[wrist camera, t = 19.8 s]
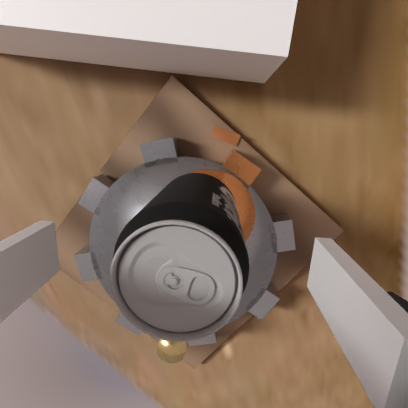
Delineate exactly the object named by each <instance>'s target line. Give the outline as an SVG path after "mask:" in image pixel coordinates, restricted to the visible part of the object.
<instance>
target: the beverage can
mask: <svg viewBox="0 0 408 408" xmlns="http://www.w3.org/2000/svg"><path fill="white" fill-rule="evenodd" d="M248 277H249V257H248V252H247V248H246V244H245V240H244V236H243V232H242V227H241V223H240V219H239V215H238V211H237V207H236V203H235V199H234V197H233V195H232V193H231V191H230V190H229V189H228V187H227V186H226V185H225V184H224V183H223V182H221V181H220V180H219V179H217V178H215V177H213V176H211V175H208V174H203V173H189V174H184V175H182V176H179V177H177V178H175V179H174V180H172V181H171V182H170V183H169V184H168V185H167V186H166V187H165V188H164V189H162V190H161V191H160V192H159V193H158V194H157V195H156V196H155V197H154V198H153V199H152V200H151V201H150V202H149V203H148V204H147V205H146V206H145V207H144V208H143V209H142V210H141V211H140V212H138V213H137V214H136V215H135V216H134V217H133V218H132V219H131V220H130V221H129V222H128V223H127V224H126V226H125V227H124V228H123V230H122V232H121V233H120V235H119V237H118V239H117V242H116V245H115V249H114V254H113V261H112V264H111V268H110V288H111V293H112V296H113V299H114V301H115V303H116V305H117V307H118V309H119V310H120V312H121V313H122V314H123V316H124V317H125V318H126V319H127V320H128V321H129V322H130V323H131V324H132V325H134V326H135V327H136V328H137V329H139V330H141V331H142V332H144V333H146V334H148V335H150V336H152V337H155V338H158V339H162V340H166V341H175V342H185V341H194V340H198V339H201V338H204V337H207V336H209V335H211V334H213V333H215V332H216V331H218V330H220V329H221V328H222V327H223V326H224V325H226V324H227V323H228V321H229V320H230V319H231V318H232V317H233V315H234V314H235V312H236V310H237V308H238V306H239V304H240V300H241V297H242V294H243V292H244V290H245V288H246V285H247V282H248Z"/></svg>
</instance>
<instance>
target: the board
mask: <svg viewBox="0 0 408 408" xmlns="http://www.w3.org/2000/svg"><path fill="white" fill-rule="evenodd" d="M240 136H241V135H239V134H237V133H236V132H234V131H233V130H232V129H231V128H230V127H229V126H228V125H227V124H226V123H224V122H223V121H222V120H221V119H220V118H219V117H218V116H217V115H216V114H215V113H213V112H212V111H211V110H210V109H209V108H208V107H207V106H206V105H205V104H203V103H202V102H201V101H200V100H199V99H198V98H197V97H196V96H195V95H193V94H192V93H191V92H190V91H189V90H188V89H187V88H186V87H185V86H183V85H182V84H181V83H180V82H179V81H178V80H177V79H176V78H175V77H174V76H171V77H170V78H169V80H168V81H167V82H166V84H165V85H164V86H163V88H162V89H161V90H160V92H159V93H158V94H157V96H156V97H155V98H154V100H153V101H152V102H151V104H150V105H149V106H148V108H147V109H146V110H145V112H144V113H143V114H142V116H141V117H140V118H139V120H138V121H137V122H136V124H135V125H134V126H133V128H132V129H131V130H130V132H129V133H128V135H127V136H126V137H125V139H124V140H123V141H122V143H121V144H120V145H119V147H118V148H117V149H116V151H115V152H114V153H113V155H112V156H111V157H110V159H109V160H108V161H107V163H106V164H105V165H104V167H103V168H102V169H101V171H100V172H99V173H98V175H101V174H103V175H105V176H106V177H108V178H109V179H111V180H112V181H114V182H115V181H117V180H118V179H119V178H120V177H121V176H123V175H124V174H125V173H127V172H129V171H130V170H132V169H134V168H135V167H138V166H140V165H142V164H144V160H143V156H142V152H141V148H140V144H142V143H147V142H152V141H157V140H162V139H167V138H172V137H177V142H178V147H179V152H180V156H196V157H202V158H206V159H209V160H213V161H215V162H218V163H220V164H223V162H224V161H225V159H226V158H227V156H228V155H229V154H230V152H231V151H232V149H233V150H235V151H236V152H238V153H239V154H240V155H242V156H243V157H245V158H246V159H248V160H249V161H250V162H252V163H253V164H255V165H256V166H258V167H259V168H260V169H261V172H260V173H259V174H258V176H257V177H256V178H255V180H254V181H253V182H252V184H251V186H252V187H253V188H254V190H255V191H256V192H257V194H258V195H259V197H260V198H261V199H262V201H263V203H264V204H265V206H266V208H267V210H268V212H269V214H270V216H271V215H278V214H284V213H287V214H288V215H289V217H290V218H291V219H292V223H293V231H294V239H295V248H296V250H290V251H283V252H277V259H276V265H275V269H274V273H273V276H272V278H271V281H270V284H272V285H273V286H275V287H276V289H277V292H279V291H280V290H281V289H282V288H283V287H284V286H285V285H286V284H287V283H288V282H289V281H290V280H292V279H293V278H294V277H295V276H296V275H297V274H298V273H299V272H300V271H301V270H302V269H303V268H305V267H306V266H307V265H308V264H309V263H310V262H311V259H312V253H313V247H314V241H315V237H320V238H331V239H332V240H333V241H334V240H335V239H336V238H337V237H338V236H339V235H340V234H341V233H343V232H344V230H343V229H342V228H341V227H340V226H339V225H338V224H336V223H335V222H334V221H333V220H332V219H331V218H330V217H329V216H328V215H326V214H325V213H324V212H323V211H322V210H321V209H320V208H319V207H318V206H316V205H315V204H314V203H313V202H312V201H311V200H310V199H309V198H308V197H306V196H305V195H304V194H303V193H302V192H301V191H300V190H299V189H298V188H297V187H295V186H294V185H293V184H292V183H291V182H290V181H289V180H288V179H287V178H285V177H284V176H283V175H282V174H281V173H280V172H279V171H278V170H277V169H275V168H274V167H273V166H272V165H271V164H270V163H269V162H268V161H267V160H265V159H264V158H263V157H262V156H261V155H260V154H259V153H258V152H257V151H256V150H254V149H253V148H252V147H251V146H250V145H249V144H248V143H247V142H246V141H244V140H243V139H242V138H241V137H240ZM98 175H97V176H98ZM82 196H83V195H82ZM82 196H81V197H82ZM80 199H81V198H80ZM80 199H79V200H78V202H77V203H76V204H75V206H74V207H73V208H72V210H71V211H70V212H69V214H68V215H67V216H66V218H65V219H64V220H63V222H62V223H61V224H60V226H59V227H58V228H57V230H56V239H57V247H58V256H59V265H60V269H61V270H62V271H63V272H65V273H66V274H67V275H69V276H70V277H71V278H73V279H74V280H75V281H77V282H78V283H79V284H81V285H82V286H84V287H85V288H86V289H88V290H89V291H90V292H92V293H93V294H94V295H96V296H97V297H98V298H100V299H101V300H102V301H104V302H105V303H106V304H108V305H109V306H111V307H112V308H113V309H115V310H116V311H117V312H119V313H120V310H119V309H118V307H117V305H116V303H115V302H114V301H113V299H112V298H111V297H110V296H109V295H108V293H107V292H106V291H105V289H104V288H103V286H102V285H101V283H100V281H99V279H98V280H92V281H85V282H82V279H81V276H80V273H79V270H78V267H77V264H76V261H75V258H74V254H76V253H77V252H78V251H79V250H81V249H82V248H83V247H84V246H89V237H90V228H91V222H92V219H93V216H94V213H92V212H91V211H89V210H88V209H86V208H85V207H83V206H81V205H80V204H78V203H79V201H80ZM252 315H253V314H251V313H250V312H248V311H247V312H246V313H245V314H243V315H242V316H241V317H239V318H237V319H236V320H234V321H232V322H230V323H228V324H226V325H224V326H223V327H222V328H221V329H220V330H218V331H217V343H211V344H203V345H195V346H189V344H188V341H187V345H186V352H185V356H184V358H183V359H182V360H183V361H185V362H186V363H187V364H189V365H190V366H191V367H193V368H194V369H195V368H196V367H197V366H198V365H199V364H200V363H201V362H203V361H204V360H205V359H206V358H207V357H208V356H209V355H210V354H211V353H212V352H213V351H214V350H216V349H217V348H218V347H219V346H220V345H221V344H222V343H223V342H224V341H225V340H226V339H227V338H229V337H230V336H231V335H232V334H233V333H234V332H235V331H236V330H237V329H238V328H239V327H241V326H242V325H243V324H244V323H245V322H246V321H247V320H248V319H249V318H250V317H251V316H252ZM151 337H152V336H151ZM152 338H154V339H155V340H156V341H158V342H159V339H158V338H155V337H152Z"/></svg>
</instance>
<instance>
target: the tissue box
mask: <svg viewBox="0 0 408 408" xmlns="http://www.w3.org/2000/svg"><path fill="white" fill-rule="evenodd" d="M297 2H298V0H0V53H3V54H12V55H21V56H29V57H38V58H47V59H55V60H64V61H73V62H81V63H90V64H99V65H108V66H116V67H125V68H134V69H142V70H151V71H160V72H169V73H177V74H186V75H195V76H203V77H212V78H221V79H230V80H238V81H247V82H256V83H265V82H266V81H267V80H268V79H269V78H270V77H271V75H272V74H273V73H274V72H275V71H276V70H277V69H278V67H279V66H280V65H281V64H282V63H283V62H284V61H285V60H286V58H287V57H288V53H289V47H290V42H291V36H292V30H293V25H294V19H295V14H296V8H297Z"/></svg>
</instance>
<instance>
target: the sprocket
mask: <svg viewBox="0 0 408 408" xmlns="http://www.w3.org/2000/svg"><path fill="white" fill-rule="evenodd" d="M140 148H141V152H142V156H143V160H144V164H142V165H140V166H138V167H135V168H134V169H132V170H130V171H129V172H127V173H125V174H124V175H123V176H121V177H120V178H119V179H118V180H117V181H115V182H114V181H112V180H111V179H109V178H108V177H106V176H105V175H103V174H101V175H98V176H95V177H93V178H92V180H91V181H90V183H89V185H88V187H87V189H86V190H85V192H84V194H83V196H82V197H81V199H80V201H79V203H78V204H80V205H81V206H83V207H85V208H86V209H88V210H89V211H91V212H92V213H94V216H93V219H92V222H91V228H90V237H89V246H84V247H83V248H82V249H81V250H79V251H78V252H77V253H76V254H74V258H75V261H76V264H77V267H78V270H79V273H80V276H81V279H82V282H85V281H92V280H98V279H99V281H100V283H101V285H102V286H103V288H104V289H105V291H106V292H107V293H108V295H109V296H110V297H111V298H112V299H113V296H112V293H111V288H110V268H111V264H112V261H113V254H114V249H115V245H116V242H117V239H118V237H119V235H120V233H121V232H122V230H123V228H124V227H125V226H126V224H127V223H128V222H129V221H130V220H131V219H132V218H133V217H134V216H135V215H136V214H137V213H138V212H140V211H141V210H142V209H143V208H144V207H145V206H146V205H147V204H148V203H149V202H150V201H151V200H152V199H153V198H154V197H155V196H156V195H157V194H158V193H159V192H160V191H161V190H162V189H164V188H165V187H166V186H167V185H168V184H169V183H170V182H171V181H172V180H174V179H175V178H177V177H179V176H182V175H184V174H189V173H203V174H208V175H211V176H213V177H215V178H217V179H219V180H220V181H221V182H223V183H224V184H225V185H226V186H227V187H228V189H229V190H230V191H231V193H232V195H233V197H234V199H235V203H236V207H237V211H238V215H239V219H240V223H241V227H242V232H243V236H244V240H245V244H246V248H247V252H248V257H249V277H248V282H247V285H246V288H245V290H244V292H243V294H242V297H241V300H240V304H239V306H238V308H237V310H236V312H235V314H234V315H233V317H232V318H231V319H230V320H229V321H228V323H230V322H232V321H234V320H236V319H237V318H239V317H241V316H242V315H243V314H245V313H246V312H247V311H248V312H250V313H251V314H253V315H255V316H256V317H258V318H259V319H261V320H262V319H263V318H264V317H265V316H266V314H267V313H268V312H269V311H270V310H271V309H272V308H273V306H274V305H275V304H276V303H277V302H278V301H279V300H280V297H279V295H278V292H277V289H276V287H275V286H273V285H272V284H270V281H271V278H272V276H273V273H274V269H275V265H276V259H277V252H283V251H290V250H296V248H295V239H294V231H293V223H292V219H291V218H290V217H289V215H288V214H287V213H284V214H278V215H271V216H270V214H269V212H268V210H267V208H266V206H265V204H264V203H263V201H262V199H261V198H260V197H259V195H258V194H257V192H256V191H255V190H254V188H253V187H252V186H251V184H252V182H253V181H254V180H255V178H256V177H257V176H258V174H259V173H260V172H261V169H260V168H259V167H258V166H256V165H255V164H253V163H252V162H250V161H249V160H248V159H246V158H245V157H243V156H242V155H240V154H239V153H238V152H236V151H235V150H233V149H232V151H231V152H230V154H229V155H228V156H227V158H226V159H225V161H224V162H223V164H220V163H218V162H215V161H213V160H209V159H206V158H202V157H196V156H180V152H179V147H178V142H177V137H172V138H167V139H162V140H157V141H152V142H147V143H142V144H140ZM113 301H114V299H113ZM114 302H115V301H114ZM115 321H116V322H117V323H119V324H121V325H122V326H124V327H126V328H127V329H129V330H131V331H132V332H134V333H136V334H137V335H140V334H141V333H142V331H141V330H139V329H137V328H136V327H135V326H134V325H132V324H131V323H130V322H129V321H128V320H127V319H126V318H125V317H124V316H123V314H122V313H121V312H120V313H119V315H118V317H117V319H116V320H115ZM228 323H227V324H228ZM211 343H217V331H216V332H215V333H213V334H211V335H209V336H207V337H204V338H201V339H198V340H194V341H188V344H189V346H195V345H203V344H211ZM186 345H187V341H185V342H175V341H166V340H162V339H159V342H158V345H157V354H158V356H159V357H160V359H162V360H163V361H165V362H168V363H176V362H179V361H181V360H182V359H183V358H184V356H185V352H186Z"/></svg>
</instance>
